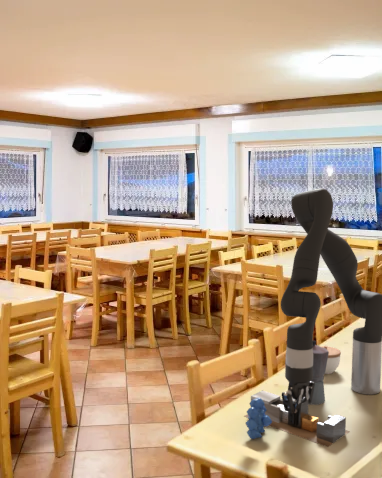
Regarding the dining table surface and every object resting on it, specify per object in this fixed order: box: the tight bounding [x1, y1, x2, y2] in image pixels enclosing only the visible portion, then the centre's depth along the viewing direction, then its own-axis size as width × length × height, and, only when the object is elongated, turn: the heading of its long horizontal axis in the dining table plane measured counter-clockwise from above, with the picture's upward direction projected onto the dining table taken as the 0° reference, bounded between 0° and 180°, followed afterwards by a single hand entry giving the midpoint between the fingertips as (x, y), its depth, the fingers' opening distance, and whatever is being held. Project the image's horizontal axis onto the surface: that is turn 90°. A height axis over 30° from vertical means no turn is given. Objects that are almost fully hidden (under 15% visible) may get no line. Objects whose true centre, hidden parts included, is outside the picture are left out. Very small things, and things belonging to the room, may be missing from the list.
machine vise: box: [243, 389, 350, 448], centre depth 153 cm, size 12×27×7 cm, turn 47°
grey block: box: [271, 398, 319, 432], centre depth 155 cm, size 4×18×7 cm, turn 47°
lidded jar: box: [319, 345, 341, 375], centre depth 200 cm, size 11×11×9 cm
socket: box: [316, 413, 347, 444], centre depth 145 cm, size 7×5×5 cm
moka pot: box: [308, 339, 329, 406], centre depth 169 cm, size 10×15×20 cm, turn 161°
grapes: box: [245, 398, 272, 440], centre depth 145 cm, size 12×7×12 cm, turn 156°
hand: (297, 421), depth 153 cm, fingers closed on grey block, 4 cm apart
